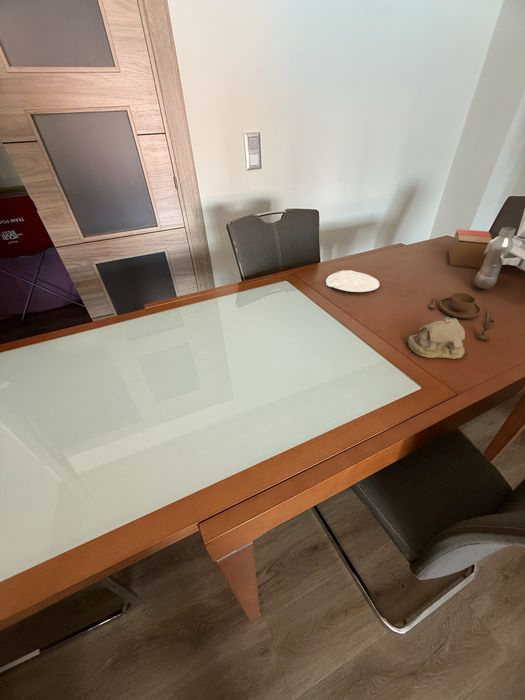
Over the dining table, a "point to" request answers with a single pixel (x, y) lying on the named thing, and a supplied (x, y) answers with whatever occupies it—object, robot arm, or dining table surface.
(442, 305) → the place setting
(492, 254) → the plastic bottle
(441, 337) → the ceramic model
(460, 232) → the red rectangular panel
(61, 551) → the dining table surface
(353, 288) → the plaque
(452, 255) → the carton
